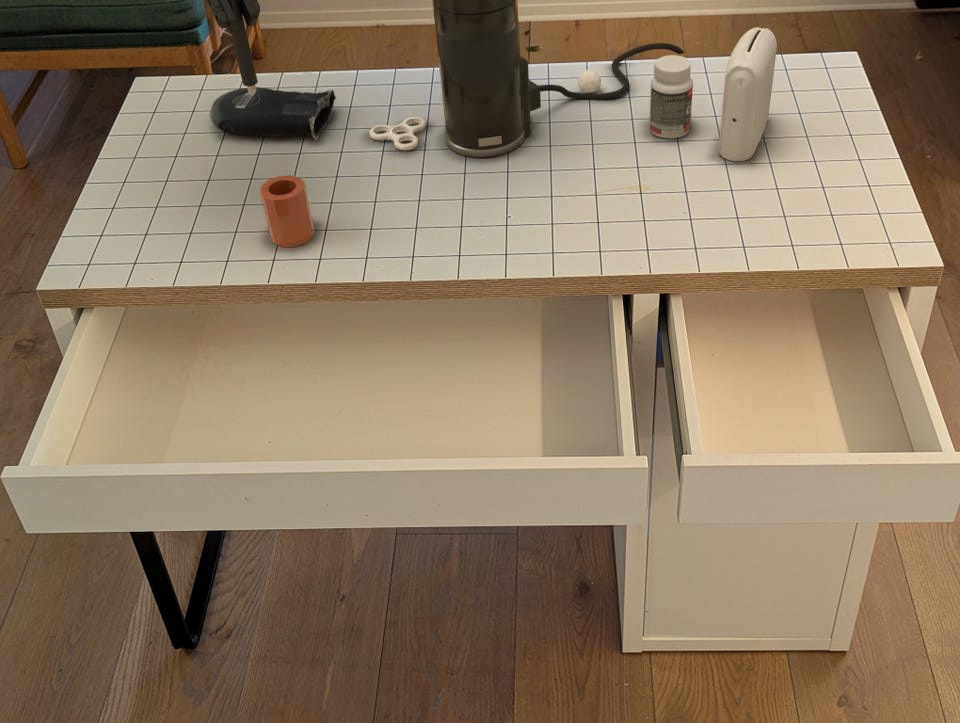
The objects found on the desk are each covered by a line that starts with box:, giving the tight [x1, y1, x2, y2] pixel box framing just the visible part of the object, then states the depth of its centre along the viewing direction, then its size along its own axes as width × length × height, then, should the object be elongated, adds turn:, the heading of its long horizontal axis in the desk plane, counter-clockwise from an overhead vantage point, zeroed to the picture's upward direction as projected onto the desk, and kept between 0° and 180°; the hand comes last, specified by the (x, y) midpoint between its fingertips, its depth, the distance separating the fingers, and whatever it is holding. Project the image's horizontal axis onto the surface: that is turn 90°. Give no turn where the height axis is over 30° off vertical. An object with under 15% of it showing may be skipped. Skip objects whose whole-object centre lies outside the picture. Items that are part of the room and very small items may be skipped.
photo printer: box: [718, 26, 778, 162], centre depth 119 cm, size 10×4×12 cm, turn 157°
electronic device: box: [209, 86, 337, 141], centre depth 133 cm, size 9×6×15 cm
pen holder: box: [259, 174, 315, 248], centre depth 113 cm, size 5×5×6 cm
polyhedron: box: [577, 69, 602, 94], centre depth 133 cm, size 3×3×3 cm
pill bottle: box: [648, 54, 694, 139], centre depth 123 cm, size 5×5×8 cm
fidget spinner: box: [368, 116, 427, 151], centre depth 128 cm, size 7×6×1 cm
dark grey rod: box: [228, 0, 258, 94], centre depth 105 cm, size 2×2×12 cm
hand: (243, 25), depth 102 cm, fingers closed on dark grey rod, 1 cm apart
